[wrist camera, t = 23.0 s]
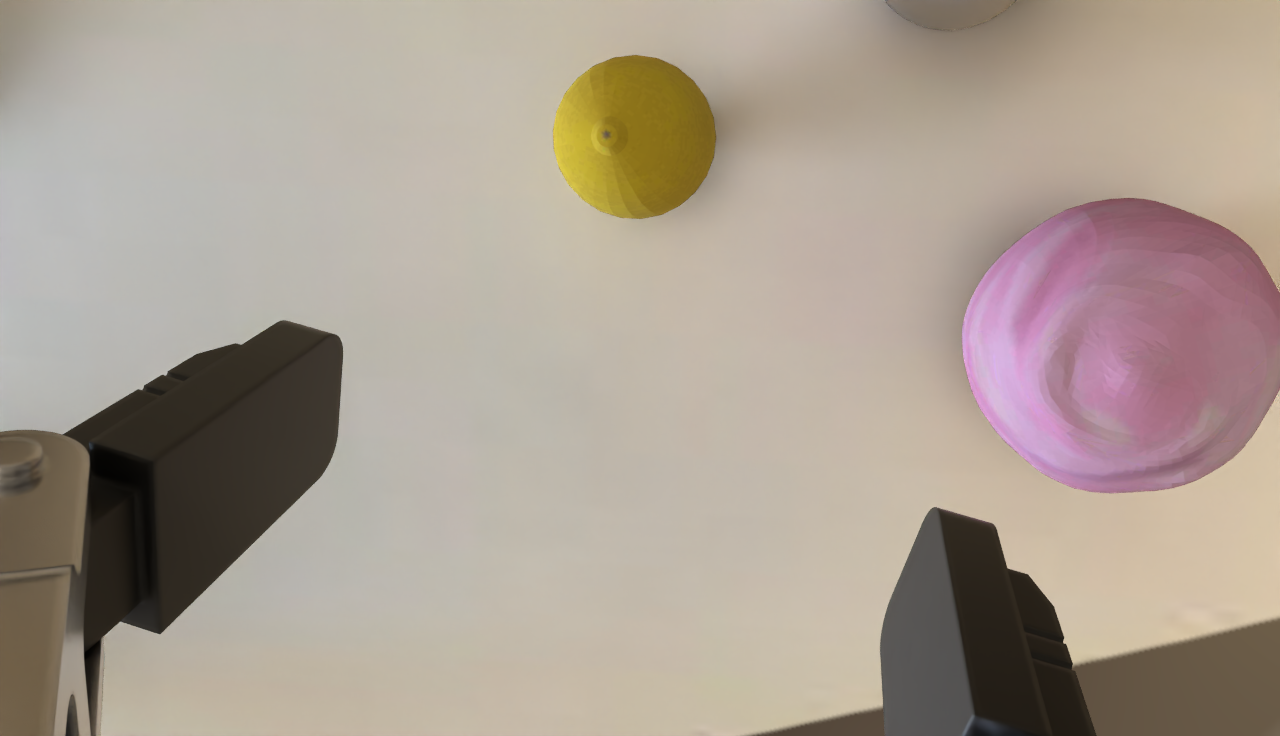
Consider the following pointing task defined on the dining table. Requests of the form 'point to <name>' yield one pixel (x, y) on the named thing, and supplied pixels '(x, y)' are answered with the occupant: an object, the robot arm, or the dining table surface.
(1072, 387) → the cupcake
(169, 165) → the dining table surface
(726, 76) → the dining table surface
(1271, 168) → the dining table surface
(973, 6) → the mug
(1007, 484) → the dining table surface
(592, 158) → the lemon
